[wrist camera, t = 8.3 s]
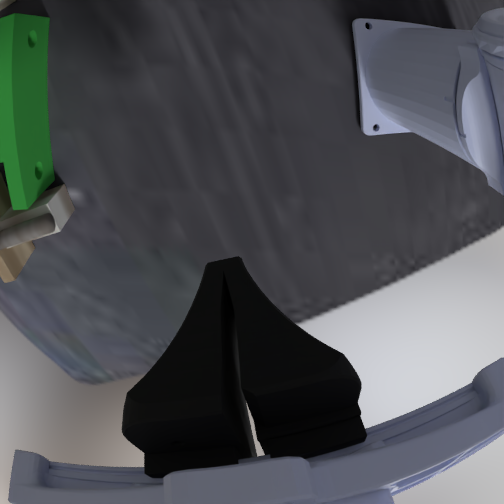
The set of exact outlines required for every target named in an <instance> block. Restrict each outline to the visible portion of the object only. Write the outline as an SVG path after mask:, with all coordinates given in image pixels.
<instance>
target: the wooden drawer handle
mask: <svg viewBox="0 0 504 504" xmlns="http://www.w3.org/2000/svg"><path fill="white" fill-rule="evenodd" d="M15 1H16V0H0V11H1V10H2V9H4V8H5V7H7V6H8V5H10V4H12V3H13V2H15ZM74 210H75V208H74V206H73V203H72V201H71V198H70V196H69V194H68V191H67V188H66V186H65V184H63V185H60V186H58V187H55V188H52V189H50V190H47V191H44V192H43V193H42V194H41V195H40V196H39V197H38V198H37V199H36V200H35V202H34V203H33V204H32V205H31V206H30V207H29V208H28V209H25V210H13V207H12V203H11V199H10V194H9V192H8V189H7V187H6V185H5V182H4V180H3V177H2V175H1V172H0V276H1V278H2V280H3V281H4V283H7V282H10V281H14V280H16V278H17V276H18V275H19V273H20V271H21V270H22V268H23V266H24V265H25V263H26V261H27V260H28V258H29V257H30V255H31V254H32V252H33V250H34V249H35V247H34V245H33V243H32V240H35V239H38V238H41V237H44V236H47V235H50V234H54V233H57V232H60V231H61V230H62V228H63V226H64V225H65V223H66V222H67V220H68V219H69V217H70V216H71V214H72V213H73V211H74Z"/></svg>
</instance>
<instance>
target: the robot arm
mask: <svg viewBox="0 0 504 504" xmlns="http://www.w3.org/2000/svg"><path fill="white" fill-rule="evenodd" d="M366 23H368V24H369V26H370V27H369V29H367V28H366V27H365V24H366ZM352 28H353V36H354V44H355V53H356V63H357V74H358V86H359V101H360V119H361V130H362V132H363V133H365V134H366V135H378V134H390V133H403V132H414V133H416V134H418V135H420V136H422V137H424V138H426V139H428V140H430V141H432V142H433V143H435V144H437V145H439V146H441V147H443V148H445V149H446V150H448V151H450V152H452V153H453V154H455V155H457V156H459V157H460V158H462V159H464V160H465V161H467V162H469V163H470V164H472V165H474V166H475V167H477V168H479V169H480V170H482V171H483V172H484V173H485V175H486V177H487V179H488V184H489V185H490V186H491V187H492V188H494V189H495V190H497V191H498V192H499V193H501V194H502V195H504V8H498V9H494V10H490V11H487V12H485V13H483V14H482V15H481V17H480V18H479V20H478V22H477V23H476V24H475V25H474V27H473V29H472V30H461V29H446V28H439V27H433V26H427V25H421V24H414V23H407V22H399V21H389V20H378V19H363V18H360V19H355V20H354V21H353V23H352ZM375 124H376V125H377V128H376V129H375V130H373V126H374V125H375ZM360 391H361V381H360V378H359V376H358V375H357V373H356V372H355V369H354V368H353V366H352V365H351V363H350V362H349V361H348V359H347V358H346V357H345V355H344V354H343V353H341V352H339V351H337V350H335V349H333V348H331V347H329V346H328V345H326V344H324V343H322V342H321V341H319V340H317V339H316V338H314V337H313V336H311V335H310V334H308V333H307V332H306V331H304V330H303V329H301V328H300V327H299V326H297V325H296V324H295V323H293V322H292V321H291V320H290V319H289V318H288V317H286V316H285V315H284V314H283V313H282V312H281V311H280V310H279V309H278V308H277V307H276V306H275V305H274V304H273V303H272V302H271V301H270V300H269V299H268V298H267V297H266V296H265V294H264V293H263V292H262V291H261V290H260V288H259V287H258V286H257V284H256V283H255V282H254V280H253V279H252V277H251V276H250V274H249V273H248V271H247V269H246V268H245V266H244V263H243V261H242V258H240V257H239V256H238V257H233V258H228V259H223V260H219V261H214V262H209V263H207V265H206V267H205V271H204V274H203V277H202V280H201V283H200V286H199V289H198V291H197V294H196V296H195V299H194V301H193V304H192V306H191V308H190V310H189V312H188V314H187V316H186V318H185V320H184V322H183V324H182V326H181V327H180V329H179V331H178V333H177V334H176V336H175V337H174V339H173V340H172V342H171V343H170V345H169V346H168V348H167V349H166V351H165V352H164V353H163V355H162V356H161V357H160V359H159V360H158V361H157V362H156V363H155V365H154V366H153V367H152V368H151V369H150V371H149V372H148V373H147V374H146V375H145V376H144V377H143V378H142V379H141V380H140V381H139V382H138V383H137V384H136V385H135V386H134V387H133V388H132V389H131V390H130V391H128V392H127V396H126V401H125V405H124V410H123V422H122V433H123V435H124V436H125V437H126V439H127V440H128V441H130V442H131V443H132V444H133V445H135V446H136V447H137V448H139V449H140V450H141V451H142V452H144V453H145V454H144V455H145V456H144V459H145V460H144V464H145V465H144V467H104V466H89V465H77V464H67V463H59V462H51V461H49V460H47V459H46V458H45V457H43V456H41V455H39V454H36V453H33V452H28V451H22V450H15V454H14V460H13V466H12V473H11V480H10V488H9V498H8V500H9V502H10V503H12V504H394V501H393V498H392V496H394V495H396V494H398V493H401V492H403V491H405V490H407V489H410V488H412V487H414V486H416V485H418V484H420V483H422V482H424V481H426V480H428V479H430V478H432V477H434V476H436V475H438V474H440V473H441V472H443V471H445V470H447V469H448V468H450V467H452V466H454V465H456V464H457V463H459V462H461V461H463V460H464V459H465V458H467V457H469V456H471V455H472V454H474V453H476V452H477V451H479V450H480V449H482V448H483V447H485V446H487V445H488V444H490V443H491V442H492V441H494V440H496V439H497V438H498V437H500V436H501V435H503V434H504V358H500V359H499V360H497V361H495V362H494V363H492V364H490V365H488V366H487V367H485V368H483V369H482V370H481V371H480V372H479V373H478V374H477V375H476V376H475V377H474V379H473V381H472V383H470V384H468V385H467V386H465V387H463V388H461V389H459V390H457V391H455V392H453V393H451V394H449V395H447V396H445V397H443V398H441V399H439V400H437V401H434V402H432V403H430V404H428V405H426V406H423V407H421V408H419V409H416V410H414V411H412V412H409V413H407V414H404V415H402V416H399V417H397V418H395V419H392V420H389V421H386V422H384V423H381V424H378V425H376V426H373V427H370V428H367V429H365V428H364V425H363V422H362V420H361V417H360V415H361V410H360V408H359V405H358V399H359V395H360ZM246 402H247V404H248V407H249V410H250V412H251V415H252V417H253V420H254V424H255V430H256V435H257V440H258V441H259V442H260V445H261V447H262V449H263V451H264V454H265V455H264V456H258V457H257V453H256V449H255V444H254V439H253V435H252V430H251V425H250V420H249V416H248V410H247V406H246Z"/></svg>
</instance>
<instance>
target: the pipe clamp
mask: <svg viewBox="0 0 504 504" xmlns="http://www.w3.org/2000/svg"><path fill="white" fill-rule="evenodd" d="M49 21H50V18H47V17H41V16H34V15H26V14H18V13H14V14H11V15H8V16H5V17H3V18H0V163H1V162H4V168H5V174H6V179H7V184H8V189H9V194H10V199H11V203H12V207H13V210H25V209H28V208H29V207H30V206H31V205H32V204H33V203H34V202H35V200H36V199H37V198H38V197H39V196H40V195H41V194H42V193H43V192H44V191H45V190H46V189H47V188H48V187H49V186H50V185H51V183H52V182H53V181H54V180H55V176H54V169H53V161H52V153H51V143H50V132H49V118H48V98H47V54H48V34H49Z"/></svg>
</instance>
